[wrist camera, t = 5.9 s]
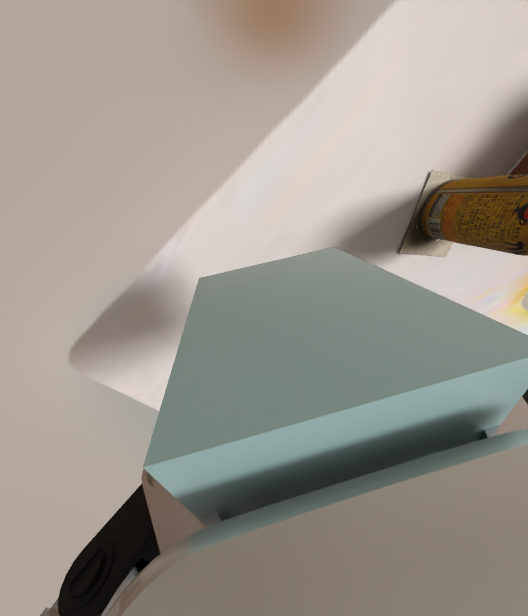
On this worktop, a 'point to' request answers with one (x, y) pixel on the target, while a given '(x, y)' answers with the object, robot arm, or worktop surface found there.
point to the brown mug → (470, 215)
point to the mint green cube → (322, 381)
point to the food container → (520, 166)
